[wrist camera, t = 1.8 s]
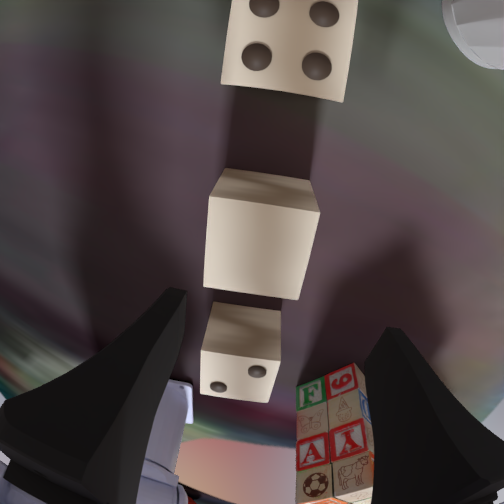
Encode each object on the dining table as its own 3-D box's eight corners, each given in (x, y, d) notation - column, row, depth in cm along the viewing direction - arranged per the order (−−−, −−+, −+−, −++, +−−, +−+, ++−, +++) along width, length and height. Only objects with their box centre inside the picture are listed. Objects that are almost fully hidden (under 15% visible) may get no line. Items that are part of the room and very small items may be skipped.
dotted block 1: (210, 346, 26) (199, 394, 21) (213, 300, 23) (200, 351, 19) (269, 354, 26) (267, 404, 22) (280, 310, 23) (280, 362, 19)
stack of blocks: (411, 434, 34) (427, 511, 23) (370, 450, 36) (379, 526, 25) (353, 360, 26) (374, 488, 15) (293, 385, 28) (293, 507, 17)
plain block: (218, 241, 21) (203, 286, 17) (225, 167, 18) (209, 196, 14) (293, 252, 21) (298, 300, 17) (309, 180, 18) (320, 212, 14)
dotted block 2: (235, 84, 16) (220, 83, 11) (246, 4, 13) (235, -25, 9) (324, 97, 16) (343, 102, 11) (336, 17, 13) (359, -5, 9)
